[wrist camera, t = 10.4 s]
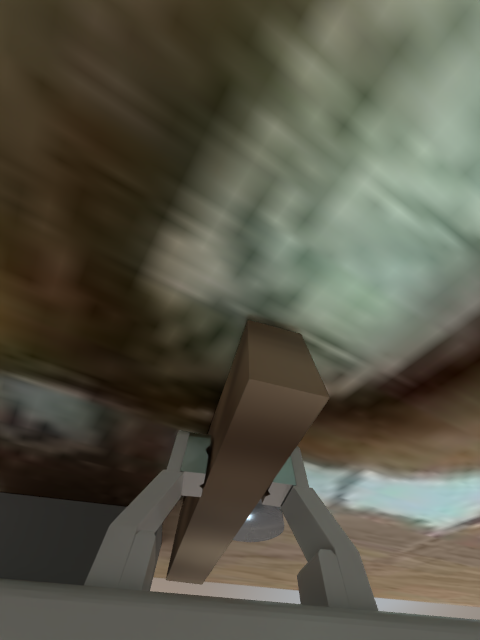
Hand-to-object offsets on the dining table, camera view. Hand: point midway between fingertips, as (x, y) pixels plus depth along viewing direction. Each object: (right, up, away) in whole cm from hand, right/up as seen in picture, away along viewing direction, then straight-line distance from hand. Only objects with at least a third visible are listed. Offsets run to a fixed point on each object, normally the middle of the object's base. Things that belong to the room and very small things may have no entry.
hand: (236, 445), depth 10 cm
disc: (+1, -8, +7) cm, 11 cm away
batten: (-1, -2, +3) cm, 4 cm away
